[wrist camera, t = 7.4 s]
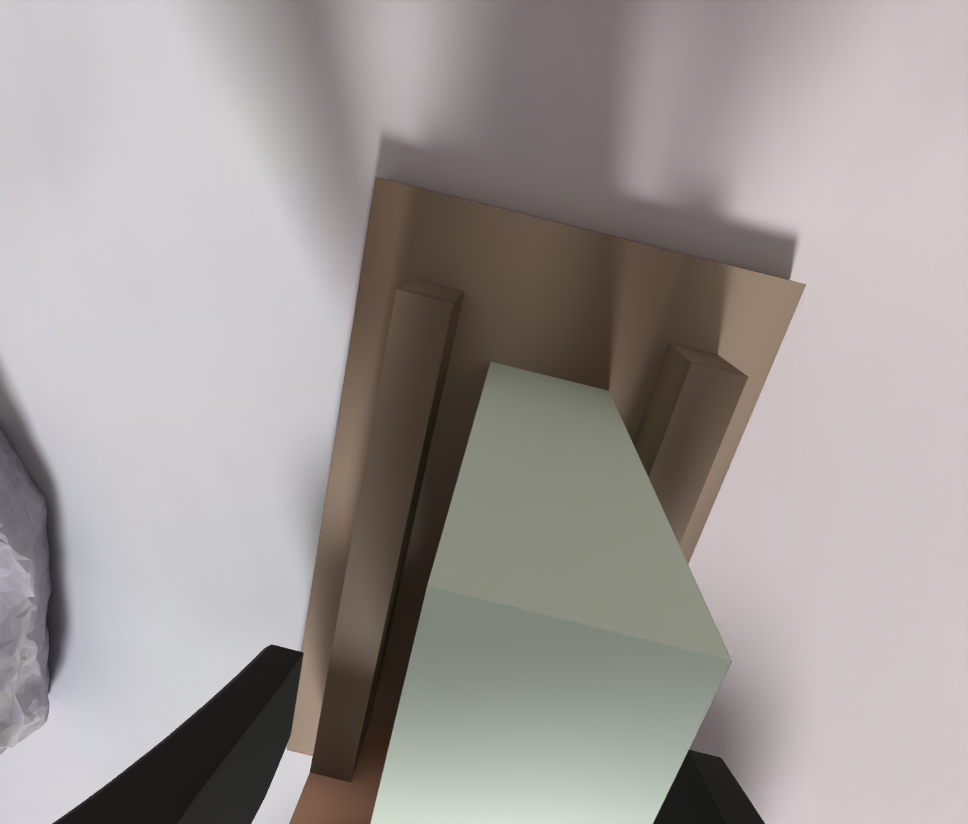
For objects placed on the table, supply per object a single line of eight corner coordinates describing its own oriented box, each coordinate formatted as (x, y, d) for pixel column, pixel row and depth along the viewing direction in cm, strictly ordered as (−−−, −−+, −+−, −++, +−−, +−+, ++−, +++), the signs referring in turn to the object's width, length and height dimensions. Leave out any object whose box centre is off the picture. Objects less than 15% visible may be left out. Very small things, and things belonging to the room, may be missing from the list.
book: (609, 390, 14) (732, 661, 5) (502, 719, 18) (475, 1188, 9) (490, 361, 14) (427, 585, 5) (409, 696, 18) (294, 1143, 9)
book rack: (790, 280, 13) (1026, 337, 7) (577, 798, 19) (600, 1083, 13) (384, 179, 13) (251, 143, 7) (295, 729, 19) (180, 980, 13)
